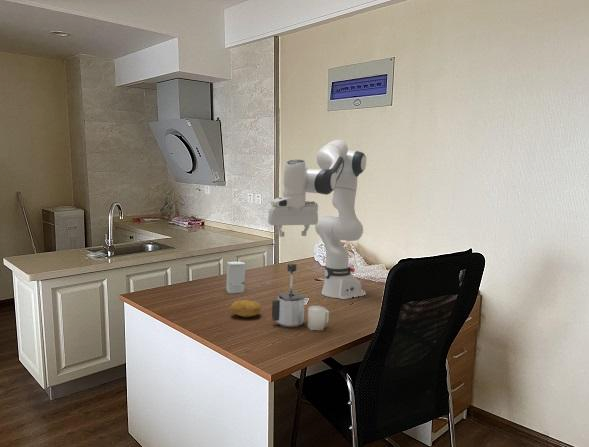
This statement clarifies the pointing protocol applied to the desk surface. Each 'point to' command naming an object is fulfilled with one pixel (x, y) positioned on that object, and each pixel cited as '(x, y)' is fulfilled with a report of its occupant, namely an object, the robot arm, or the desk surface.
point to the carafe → (288, 309)
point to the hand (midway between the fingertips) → (292, 236)
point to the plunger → (291, 276)
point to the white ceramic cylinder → (317, 317)
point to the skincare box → (235, 277)
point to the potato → (246, 308)
